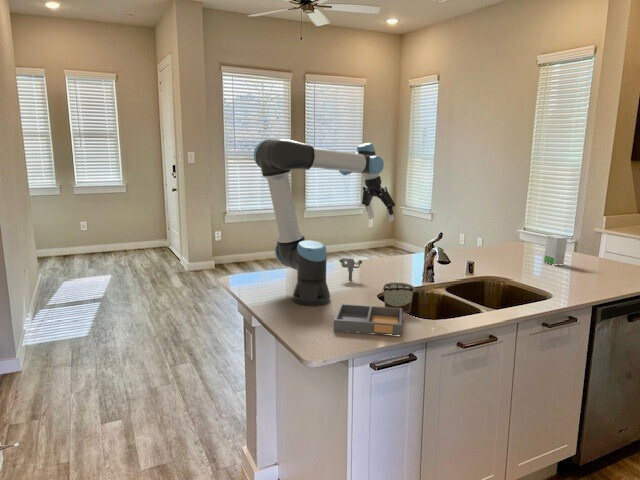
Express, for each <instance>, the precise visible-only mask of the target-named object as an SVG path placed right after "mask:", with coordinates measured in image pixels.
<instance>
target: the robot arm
mask: <svg viewBox="0 0 640 480" xmlns="http://www.w3.org/2000/svg"><path fill="white" fill-rule="evenodd" d="M356 150H357V151H356V152H347V151H341V150H333V149H326V148H320V147H314V146H313V145H312V144H310V143H304V142H299V141H297V140H293V139H292V140H291V139H288V138H268V139H264V140H262V141H260V142H259V143H258V144H257V145H256V147H255V148H254V151H253V160H254V162H255V164H256V165H257V166H258V167H259V168H260V170H261V175H262V177H263V178H264V179H266V180H267V183H268V189H269V193H270V198H271V203H272V208H273V212H274V215H275V216H274V217H275V221H276V225H277V231H278V236H277V238H276V246H275V248H274V255H275V258H276V260H277V261H278V262H279V263H280V264H282V265H283V266H285V267H288V268H290V269H293V270H296V273H297V275H296V276H297V277H296V283H295V287H294V291H293V293H292V301H293V302H294V303H296V304H298V305H301V306H311V307H312V306H321V305H326V304H328V303H330V301H331V294H330V293H331V292H330V290H329V287H328V283H327V262H328V261H327V257H328V251H327V246H326V245H325V244H324V243H322V242H320V241H316V240H306V238H305V235H304V232H302V231H300V227H299V222H298V217H297V213H296V207H295V203H294V198H293V193H292V187H291V181H290V177H289V176H290V173H291V172H292V170H311V168H313V169H321V170H323V169H324V170H333V171H339V173H340V174H341V175H343V176H348V175H350V174H352V173H353V174H354V173H357V174H362V176H363V177H362V178H363V181H364V186H362V191H363V192H362V198H361V199H362V200H361V205H364V206H365V209H366V212H367V215H368V219H369V220H371V219H373V218H375V214H374V210H373V206H372V199H373V198H374V197H376V198H378V199H379V200H380V201H381V202H382V203H383V205H384V206H385V207H386V208H385V210H386V214H387V220H388V223H391V222H393V221H394V220H395V218H394V210H393V208H394V207H395V206H396V203H395V202H394V199H393V198H392V196H391V194H390V193H389V191H388V187H387V186H382V185H381V184H382V178H381V175H380V174H381V172H383V170H384V167H385V162H384V159H383V158H382V157H381V156H379V155H376V154H377V153H376V150H375V145H374V144H373V143H372V142H365V143H362V144H359V145H357V147H356Z"/></svg>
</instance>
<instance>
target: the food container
mask: <svg viewBox="0 0 640 480" xmlns="http://www.w3.org/2000/svg"><path fill="white" fill-rule="evenodd" d="M381 292H382V293H383V300H384V301H383V302H384V307H391V308H402V313H411V307H412V303H413V295H414V293H415V292H416V290H415V286H414V285H412V284H408V283H404V282H387V283H385V284H384V285H383V287H382V290H381Z"/></svg>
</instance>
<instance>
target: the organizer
mask: <svg viewBox="0 0 640 480" xmlns="http://www.w3.org/2000/svg"><path fill="white" fill-rule="evenodd" d="M402 320H403V312H402V308H391V307H385V306H378V305H377V306H376V305H362V304H361V305H360V304H351V303H350V304H347V303H340V304H339V307H338V309H337V312H336V314H335V316H334V319H333V332H338V331H345V332H344V333H350V332H359V333H358V334H362V333H375V334H392V335H401V336H402V327H403V326H402V325H403V324H402V323H403V321H402ZM346 331H347V332H346ZM348 331H349V332H348Z"/></svg>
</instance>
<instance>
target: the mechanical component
mask: <svg viewBox="0 0 640 480" xmlns="http://www.w3.org/2000/svg"><path fill="white" fill-rule="evenodd" d="M339 263H340V265H341V267H342V268H345V269H346V268H347V271H348V281H351V282H352V281H353V272H354V269H360V267H361V264H363V260H361V259H358V261H357V262H356V261H355V259H354V258H345V257H344V258H340V259H339Z"/></svg>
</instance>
